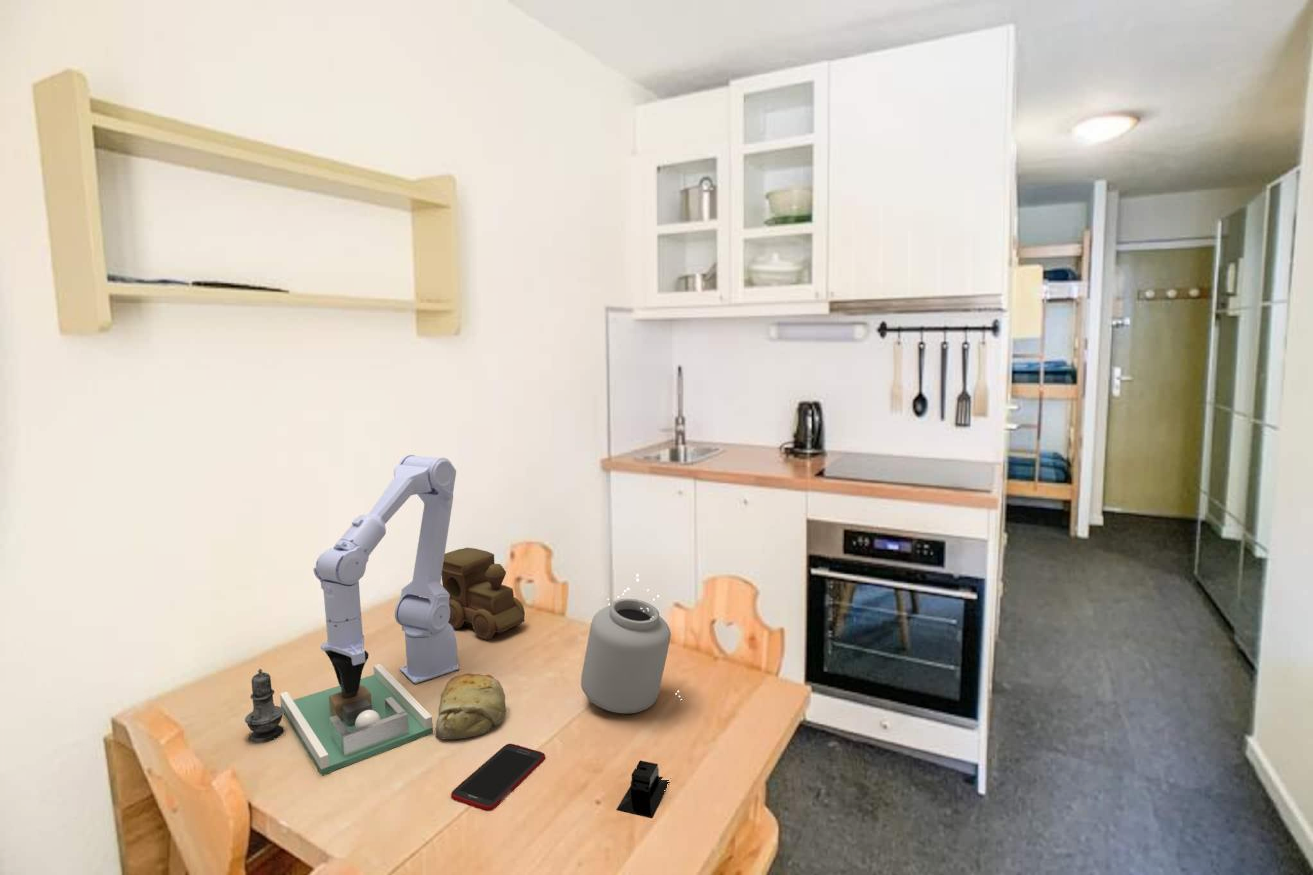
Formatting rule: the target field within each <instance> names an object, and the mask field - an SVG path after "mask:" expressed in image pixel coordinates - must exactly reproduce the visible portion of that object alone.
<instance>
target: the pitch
mask: <svg viewBox="0 0 1313 875" xmlns="http://www.w3.org/2000/svg"><path fill="white" fill-rule="evenodd" d="M362 685H364V686H365V687H366V688H367V690H368V691H369V692H370V693H371V703H372V709H371V710H374V711H376V712H377V713H378V714H379V716H380V719H381V720H382V719H385V718H386V711H385V699H386V698H389V697H392V698H393V699H394V700H395V701H396V702H397V703H398V704H399V705H400V706H401V707H402V708H403V710H404V711H405V712H406V713H407V714H408V725H409V734H406V735H403V736H401V737H398V738H395V739H393V740H390V741H387V742H385V743H382V744H379V745H376V746H374V747H371V748H368V749H366V750H363V751H360V752H358V753H355V754H352V755H350V756H347V757H344V755H343V754H342V752H341V751H340V749H339V748H338V747H337V745H336V744H335V742H334V741H333V739H332V738H331V732H330V720H329V718H330V717H333V715H332V713H331V712H330V704H329V696H330V695H333V694H336V693H340V692H342V691H341V686H340V685H337V686H334V687H331V688H327V689H324V690H321V691H317V692H314V693H311V694H307V695H305V696H302V697H298V698H296V699H292V697H291V695H290V693H289V692H288V691H285V692H281V693H280V694H279V699H280V707H281V708H283V710H284V713H283V714H284V716H285V717H286V719H287V721H288V722H289V724H290V726H291V727H292V729H293V730H294V732H295V734H296V736H297V737H298V739H299V740H300V742H301V744H302V745H303V747H304V749H305V750H306V752H307V754H308V755H309V756H310V758H311V760H312V762H313V764H314V765H315V767H316V768H317V770H318V772H319V774H320V775H321V776H324V775H326V774H329V773H332V772H335V771H337V770H340V769H342V768H344V767H347V766H350V765H352V764H355V763H358V762H360V761H363V760H366V759H368V758H370V757H371V758H372V757H373V756H375V755H378V754H381V753H384V752H386V751H389V750H391V749H394V748H397V747H399V746H402V745H404V744H405V745H406V744H407V743H410V742H414V741H415V740H418V739H421V738H423V737H426V736H428V735H431V734H433V733H434V725H433V724H434V723H433V722H434V721H433V716H432V715H431V714H430V713H429V711H427V710H426V709H425V708H424V707H423V706H422V705H421V704H420V703H419V702H418V701H417V700H416V699H415V698H414V697H413V695H411V694H410V693H409V691H407V689H406V688H405V687H404V686H402V685H401V684H400V683H399V681H397V680H396V678H395V677H393V676H392V674H390V673H389V671H387V670H386V668H385V667H384V666H382V664H381V663H377V664H374V665H373V674H372V675H370V676H366V677H363V678H362V677H361V680H360V686H362ZM341 721H342V723H343V724H344V725H345V727H346V728H347V729H348V731H351V730H353V729H356V727H355V724H352V725H349V726H348V725H347V724H346V722H345V721H344V720H343V719H341Z"/></svg>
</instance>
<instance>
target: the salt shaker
mask: <svg viewBox="0 0 1313 875" xmlns="http://www.w3.org/2000/svg"><path fill="white" fill-rule="evenodd" d="M257 672H258V673H256V674H254V675H253V676H252V678H251V689H252V693H251V694H250V699H251V700H252V706H253V709H252V711H250V712H249V713H248V714H247V715H246V716H245V718H244V722H245V723H246V725H247V727H248V728H249V730H250V731H252V732H251V733H250V734H249V736H248V740H249V742H250V743H254V744H262V743H261V742H263V743H266V742H267V743H268V742H270V740H271V741H273V740H275V739H277V738H278V736H279V737H280V736H282V734H283V733H284V729H285V728H284V726H281V725H280V723H281V722H282V718H283V714H284V710H283V708H281V706H279V705H275V702H274V697H273V696H274V694H275V690H274V689H273V688H272V679H271V675H270V674H269V673H267V672H263V670H262V669H261V668H259V669H258V670H257ZM274 738H275V739H274Z"/></svg>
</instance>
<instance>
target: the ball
mask: <svg viewBox="0 0 1313 875" xmlns="http://www.w3.org/2000/svg"><path fill="white" fill-rule="evenodd" d="M379 720H381V719H380V716H379V714H378V713H377V712H376V711H374V710H365V711H363V712H362V713H360V714H359V715H358V717H357V718H356V721H355V727H356V728H359V727H362V726H365V725H368V724H370V723H373V722H376V721H379Z"/></svg>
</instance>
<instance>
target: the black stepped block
mask: <svg viewBox="0 0 1313 875" xmlns="http://www.w3.org/2000/svg"><path fill="white" fill-rule="evenodd" d="M659 772H660V771H659V764H658V763H654V762H650V761H645V760H639V761H638V763H637V765H636V767H635V768H634V770H633V771H632V773H631V780H630V786H629V788H628V789H627V791H626V793H625V795H624V796H623V797H622V799H621V801H620V802H619V805H618V806H617V808H616V812H617V811H618V812H623V813H626V814H627V813H628V814H631V815H636V816H640V817H644V818H648V819H653V818H654V816H655V814H656V812H657V811H658V808H659V806H660V804H661V802H662V799H663V798H664V796H663V795H665V793H666V791H667V790H666V788H667V784H668V783H671V782H667V781H669V780H661V779H662V778H663V777H664V776H660V775H659V774H660V773H659ZM659 776H660V777H659ZM668 785H669V786H670V784H668ZM667 789H668V788H667ZM664 790H666V791H664ZM664 792H665V793H664Z"/></svg>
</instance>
